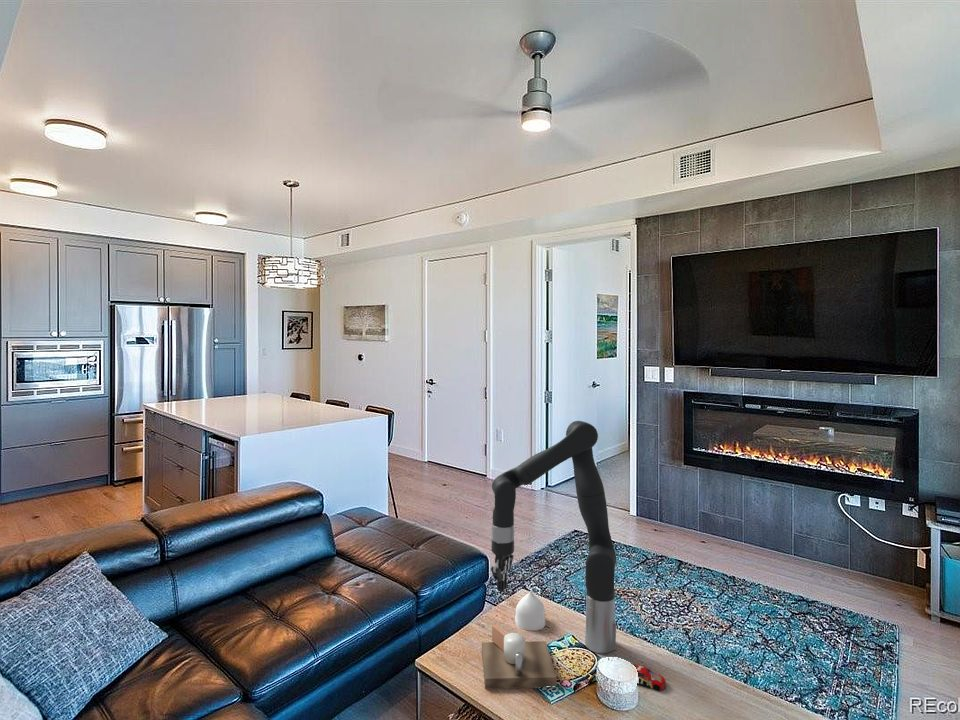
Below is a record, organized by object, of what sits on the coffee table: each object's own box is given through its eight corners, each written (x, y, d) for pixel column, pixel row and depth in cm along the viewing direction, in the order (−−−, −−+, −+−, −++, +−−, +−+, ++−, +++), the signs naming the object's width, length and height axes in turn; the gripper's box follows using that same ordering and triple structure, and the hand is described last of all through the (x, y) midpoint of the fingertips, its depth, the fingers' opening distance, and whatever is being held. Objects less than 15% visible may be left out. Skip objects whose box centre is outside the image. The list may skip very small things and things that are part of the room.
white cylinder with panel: (528, 659, 157) (528, 640, 157) (511, 666, 154) (512, 647, 153) (501, 637, 169) (502, 619, 169) (485, 643, 166) (486, 624, 165)
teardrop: (547, 616, 189) (547, 584, 188) (543, 632, 178) (544, 599, 178) (517, 612, 191) (518, 580, 191) (512, 628, 181) (513, 595, 180)
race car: (667, 683, 153) (667, 670, 152) (664, 694, 148) (665, 681, 148) (622, 669, 159) (622, 657, 159) (618, 680, 154) (619, 667, 154)
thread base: (545, 650, 168) (546, 623, 167) (556, 687, 150) (557, 657, 150) (481, 651, 167) (482, 624, 166) (485, 688, 149) (485, 658, 148)
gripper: (501, 529, 177) (500, 578, 177) (483, 542, 165) (482, 595, 165) (521, 533, 173) (520, 583, 174) (504, 547, 161) (503, 601, 162)
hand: (502, 589), depth 170 cm, fingers closed
